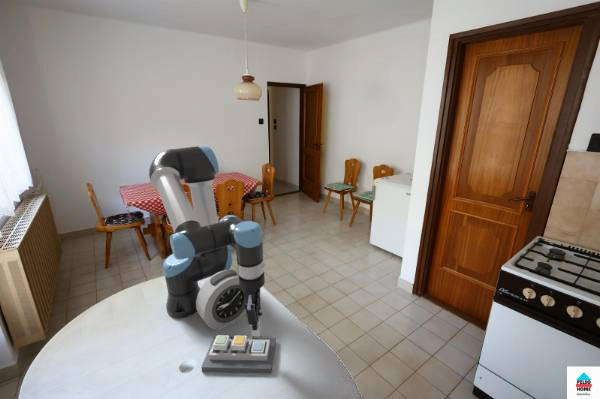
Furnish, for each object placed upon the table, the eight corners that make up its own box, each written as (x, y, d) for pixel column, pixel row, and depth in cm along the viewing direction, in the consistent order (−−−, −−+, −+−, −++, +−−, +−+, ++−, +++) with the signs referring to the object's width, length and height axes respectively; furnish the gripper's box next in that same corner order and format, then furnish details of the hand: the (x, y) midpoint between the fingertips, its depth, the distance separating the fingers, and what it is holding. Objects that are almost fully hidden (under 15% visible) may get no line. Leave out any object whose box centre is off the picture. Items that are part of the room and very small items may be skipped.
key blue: (251, 356, 91) (250, 350, 90) (253, 346, 94) (253, 340, 94) (263, 356, 90) (263, 351, 90) (265, 346, 94) (264, 341, 93)
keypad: (202, 371, 88) (200, 362, 87) (214, 341, 100) (213, 332, 98) (271, 373, 87) (270, 363, 86) (276, 342, 99) (275, 333, 97)
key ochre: (232, 350, 90) (231, 344, 89) (235, 340, 94) (234, 334, 93) (244, 350, 90) (243, 344, 89) (247, 340, 94) (246, 335, 93)
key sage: (213, 349, 90) (212, 344, 90) (217, 339, 94) (216, 334, 93) (226, 350, 90) (225, 344, 89) (229, 340, 94) (228, 334, 93)
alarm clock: (207, 336, 102) (200, 290, 95) (198, 325, 107) (191, 281, 101) (256, 308, 115) (252, 266, 109) (246, 299, 121) (242, 259, 114)
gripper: (260, 287, 76) (264, 351, 84) (267, 260, 88) (270, 319, 97) (232, 286, 77) (240, 351, 85) (243, 260, 89) (249, 319, 97)
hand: (256, 334), depth 91 cm, fingers closed
